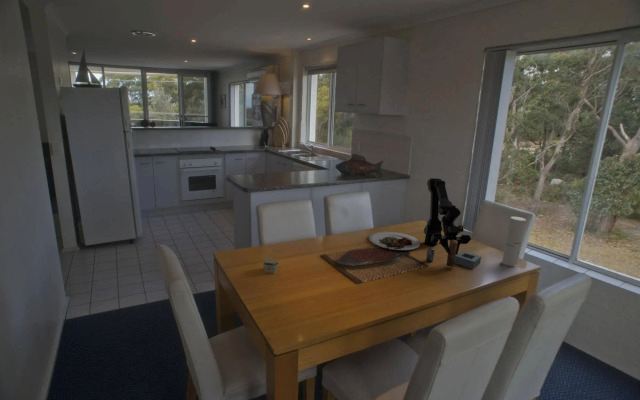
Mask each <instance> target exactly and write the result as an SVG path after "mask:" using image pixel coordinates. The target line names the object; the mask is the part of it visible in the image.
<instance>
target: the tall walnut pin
mask: <svg viewBox="0 0 640 400" xmlns="http://www.w3.org/2000/svg"><path fill="white" fill-rule="evenodd" d="M457 243H458V241H456V240H449V243H448V246H449V251H450V254H448V253H447V257H446V258H447V259H446V267H450V268H454V267H455V263H454V262H455V256H456V249H457Z"/></svg>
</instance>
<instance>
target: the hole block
mask: <svg viewBox="0 0 640 400" xmlns="http://www.w3.org/2000/svg"><path fill="white" fill-rule="evenodd" d="M481 260H482V256H480V255H478V254H474V253H470V252H468V251H464V250H462V251H460V252H458V254H457V255H456V256H455V262H454V264H456V265H460V266H462V267H465V268H469V269H472V270H473V269H474V270H475V268H476V267H478V266H479V265H480V264H481Z"/></svg>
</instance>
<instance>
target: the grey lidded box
mask: <svg viewBox="0 0 640 400" xmlns="http://www.w3.org/2000/svg"><path fill="white" fill-rule="evenodd" d="M279 261H280V260H279V259H275V258H272V257H264V258H263V268H262V269H263V272H264V273H265V274H268V273H269V274H275V275H276V273H277V272H278V270H279Z"/></svg>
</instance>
